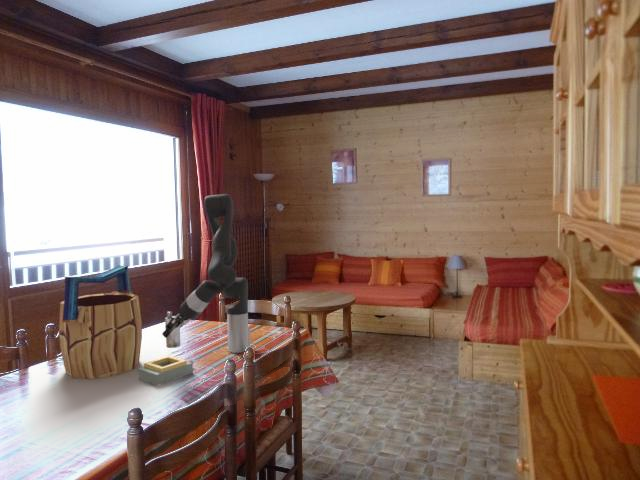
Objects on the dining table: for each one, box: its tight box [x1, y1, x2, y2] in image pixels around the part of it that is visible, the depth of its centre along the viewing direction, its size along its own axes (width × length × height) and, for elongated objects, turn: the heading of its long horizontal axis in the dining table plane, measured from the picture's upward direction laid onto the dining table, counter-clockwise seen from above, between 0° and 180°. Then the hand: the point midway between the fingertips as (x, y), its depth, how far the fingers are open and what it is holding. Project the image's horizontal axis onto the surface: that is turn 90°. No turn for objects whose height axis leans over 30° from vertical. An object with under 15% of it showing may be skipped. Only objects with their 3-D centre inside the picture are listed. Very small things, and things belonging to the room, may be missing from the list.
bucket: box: [58, 265, 143, 380], centre depth 191 cm, size 39×31×40 cm
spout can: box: [164, 311, 182, 349], centre depth 179 cm, size 5×5×13 cm
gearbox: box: [137, 355, 194, 386], centre depth 183 cm, size 20×12×6 cm, turn 143°
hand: (168, 333), depth 179 cm, fingers closed on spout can, 5 cm apart
